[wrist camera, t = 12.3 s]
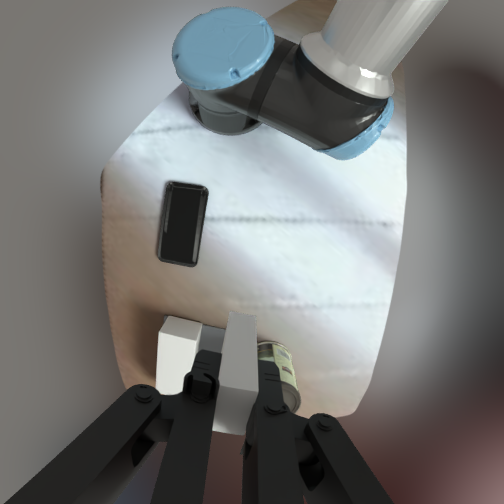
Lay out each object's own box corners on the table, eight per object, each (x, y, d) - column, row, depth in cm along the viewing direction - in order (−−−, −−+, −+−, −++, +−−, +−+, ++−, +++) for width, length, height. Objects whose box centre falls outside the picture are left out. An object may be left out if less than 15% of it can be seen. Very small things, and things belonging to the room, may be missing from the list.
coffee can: (239, 375, 58) (237, 419, 45) (249, 337, 56) (248, 379, 42) (284, 381, 59) (291, 425, 45) (297, 345, 57) (309, 387, 43)
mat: (164, 315, 55) (164, 315, 55) (241, 332, 56) (241, 333, 56) (160, 373, 59) (159, 374, 58) (227, 389, 59) (227, 390, 59)
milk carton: (202, 322, 55) (192, 390, 59) (168, 314, 55) (163, 383, 59) (196, 340, 48) (187, 410, 52) (158, 330, 48) (155, 402, 52)
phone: (209, 187, 49) (196, 268, 52) (209, 187, 50) (197, 266, 53) (167, 181, 48) (156, 260, 52) (168, 181, 50) (158, 259, 53)
